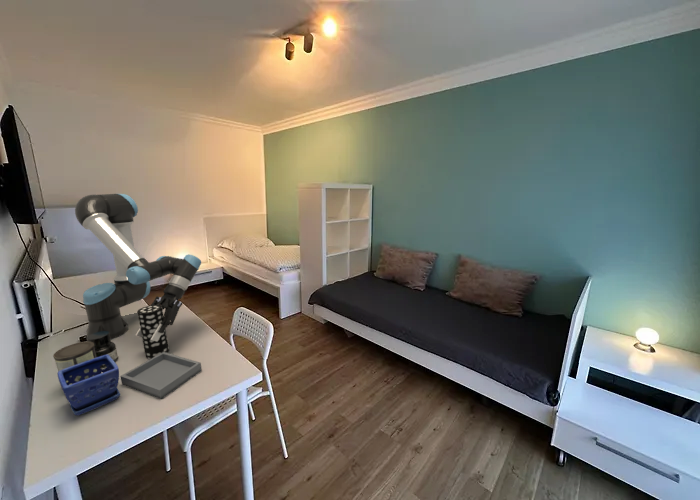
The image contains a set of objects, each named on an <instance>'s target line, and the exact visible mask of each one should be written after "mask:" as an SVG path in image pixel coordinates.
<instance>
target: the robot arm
mask: <svg viewBox="0 0 700 500" xmlns="http://www.w3.org/2000/svg"><path fill="white" fill-rule="evenodd" d="M74 207H75V208H74V214H75V218H76V220H77V222H78V223H79V224H80V225H81V226H82V228H84V230H88V231H90V232H91V233H92V234H93V235H94V236H95V237H96V238H97V239H98V240H99V241H100V242H101V243H102V244H103V246H104V247H106V248H107V249H108V251H109V252H110V253H111V254H112V255H113V262H114V266H115V270H116V271H115V272H116V276H115V277H114V278H113V282H104V283H101V284H96V285H93V286H91V287H89V288H87V289H86V290H85V291H84V292H83V294H82V301H83V304H84V308H85V312H86V316H87V321H88V324H87V330H86V335H85V336H86V338H87V337H88V336H89V335H91V334H93V333H96V332H100V331H108V332H109V333H110V338H111V340H112V339H115V338H117V337H120V336H121V335H124V334H125V333H126V332H127V331H128V330H129V326H128V322H127V321H126V320H125V318H124V317H123V315H122V314H121V310H120V308H123V307H126V306H128V305H131V304H133V303H136V302H139V301H141V300H143V299H145V298H147V297H148V296H149V295H150V292H151V283H150V282H151V281H153V280H156V279H160V278H163V277H166V276H168V275H172V277H171V278H170V280H169V281H168V284H167V285H166V287H165V288H164V290H163V295H162V296H161V297H160V296H156V297H155V298H154V300H153V302H152V303H151V304H150V305H161V306H162V310H164V312H163V316H164V317H163V321H162V322H161V324H159V326H158V328H157V329H156V331H155V333H154V334H153V336H152V338H151V339H150V340H153V341H156V342H157V341H158V340H159V338H160V336H161V334H162V333H163V332H164V331H165V329H166V330H167V328H168V326H173V325H174V324H175V320H176V318H177V316H178V313H179V311H180V308H181V307H182V306H183V305H184V304H183V302H182V301H180V299H182V298H183V296H184V295H185V293H186V291H187V289H188V287H190V284H191V282H192V280H193V279H194V278H195V275H197V272H198V270H199V268H200V267H201V265H202V260H201V259H200V258H199V257H197V256H196V255H193V254H186V255H185V256H184V257H183V258H178V257H174V256H169V255H162V256H159V257H158V258H156V260H154V261H150V262H149V260H147V258H145V257H144V255H142V254H141V253H140V252H139V251H138V249H137V248H136V247H135V245H134V244H135V243H134V238H133V233H132V232H133V231H132V227H131V226H132V224H133V223H134V217H136V216H137V215H138V211H139V209H138V205H137V203H136V201H135V199H133V198H132V197H131V196H130V195H128V194H126V193H105V194H89V195H85V196H83V197H82V198H80V199H79V200H78V201H77V203H76V204H75V206H74ZM135 336H136V337H139V338H142V335H141V329H140V327H139V329H138V330H137V332H136V333H135Z"/></svg>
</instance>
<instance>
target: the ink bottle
mask: <svg viewBox="0 0 700 500" xmlns="http://www.w3.org/2000/svg"><path fill="white" fill-rule="evenodd" d="M87 341H88V342H93V343H94V348H95V352H96V357H100V356H103V355H109V356H110V357H111V358H112V359H113V361H114V362H115V363H116V362H117V360H119V355H118V351H117V350H118V349H117V345H116V343H115V342H113V341H112V339H111V338H110V333H109V332H108V331H100V332H96V333H93V334H91V335H89V336H88V337H87V336H86V342H87ZM100 367H101V369H103V368H104V367H105V368H106V365H105V364H104V365H101V366H100Z"/></svg>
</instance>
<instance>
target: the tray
mask: <svg viewBox="0 0 700 500" xmlns="http://www.w3.org/2000/svg"><path fill="white" fill-rule="evenodd" d="M202 371H203V368H202V363H201V362H199V361H197V360H192V359H190V358H186V357H183V356H180V355H177V354H173V353H169V352H168V353H166V352H162V353H161V354H159V355H157V356H155V357H153V358H152V359H148V360H146V361H144V362H143V363H141V364H139V365H137V366H135V367H134V368H132V369H131V370H129V371H127V372H125V373H123V374H122V375H119V378H120V381H121V385H122V386H124V387H126V388H129V389H133V390H135V391H138V392H141V393H143V394H145V395H147V396H148V395H149V396H151V397H154V398H155V399H156V398H157V399H159V400H163V399H164V398H166V397H167V396H169V395H170V394H171V393H173V392H174V391H175V390H177V389H178V388H180V387H181V386H183V385H184V384H186V382H188V381H190V380H191V379H193V378H194V377H195V376H196V375H198V374H199V373H201V372H202Z"/></svg>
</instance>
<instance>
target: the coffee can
mask: <svg viewBox="0 0 700 500" xmlns="http://www.w3.org/2000/svg"><path fill="white" fill-rule="evenodd" d="M52 357H53V360H54V362H55V365H56V368H57V369H56V370H57V372H58V371H60V370H63V369H65V368H68V367H71V366H74V365H76V364H79V363H82V362H85V361H88V360H91V359H94V358H97V357H96V352H95V348H94V343H93V342H88V341H87V340H86V341H80V342H75V343H71V344H69V345H67V346H64V347H62V348H60V349H58V350H56V351H55V352H54V353H53V355H52ZM96 371H97V369H94V371H93V372H96ZM84 372H85V373H87V372H89V369H86V370H84ZM93 376H94V375H93ZM70 377H72V376H70ZM80 378H81V376H77V377H76V378H75V381H79V380H80ZM88 378H89V377H88V376H86V377H85V379H88ZM66 382H68V381H66ZM71 384H72V383H71ZM71 384H69V385H71Z"/></svg>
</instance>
